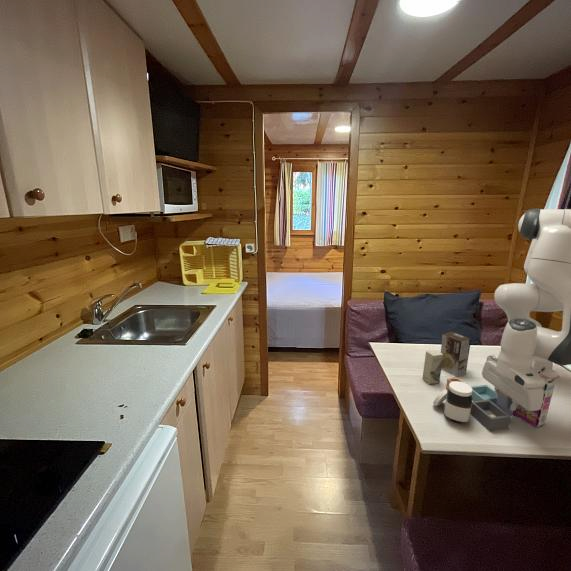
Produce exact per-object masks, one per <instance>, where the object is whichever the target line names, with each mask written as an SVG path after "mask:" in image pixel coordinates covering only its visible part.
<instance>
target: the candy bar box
mask: <svg viewBox="0 0 571 571" xmlns="http://www.w3.org/2000/svg"><path fill="white" fill-rule="evenodd" d="M538 374H539V373H538ZM539 375H540V376H541V377H542V378H543V379H544V380H545V386H543V387H541V388H542V389H543V392H544V396H543V402H542V406H541V409H540V410H537V411H528V410H526V409H525V408H524V407H522V406H521V405H518V406H517V407H516V410H515V411H513V415H512V416H516V417H517V418H519V419H521V420H522V421H524V422H526V423H527V424H530V425H531V426H533V427H535V428H540V427H541V426H544V425H545V424H546V422H547V417H548V414H549V410H550V405H551V400H552V396H553V391H554V388H555V384H556V379H551V378H549V377H546V376H544V375H542V374H539Z"/></svg>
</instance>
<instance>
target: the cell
mask: <svg viewBox="0 0 571 571" xmlns="http://www.w3.org/2000/svg"><path fill="white" fill-rule="evenodd" d="M509 403H513V402H512V399H511V398H510V397H509V396H508V395H507V394H506V393H505V392H503V391H502V390H500V389H499V392H498V397H497V402H496V405H497V406H498V407H499V408H500V409H502V410H503V411H504V412H506V413H507V414H508V415H509V416H511V418H512V417H513V416H514V415H513V411H511V410H510V409H509V408H508V404H509Z"/></svg>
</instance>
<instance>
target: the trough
mask: <svg viewBox="0 0 571 571" xmlns="http://www.w3.org/2000/svg"><path fill="white" fill-rule="evenodd" d="M470 387H471V388H472V402H473V401H481V400H490V401H491V402H493V403H494V404H495V405H496V402H497V399H496V392H495V389H493V388H492V387H490V386H489V385H487V384H483V385H473V386H470Z"/></svg>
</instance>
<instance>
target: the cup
mask: <svg viewBox="0 0 571 571" xmlns="http://www.w3.org/2000/svg"><path fill="white" fill-rule="evenodd" d="M453 381H459V382H463V383H465V382H464V381H463V380H461V379H460V378H459V377H451V378H447V379H446V385H445V389H446V390H448V388H449V384H450V382H453Z"/></svg>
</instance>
